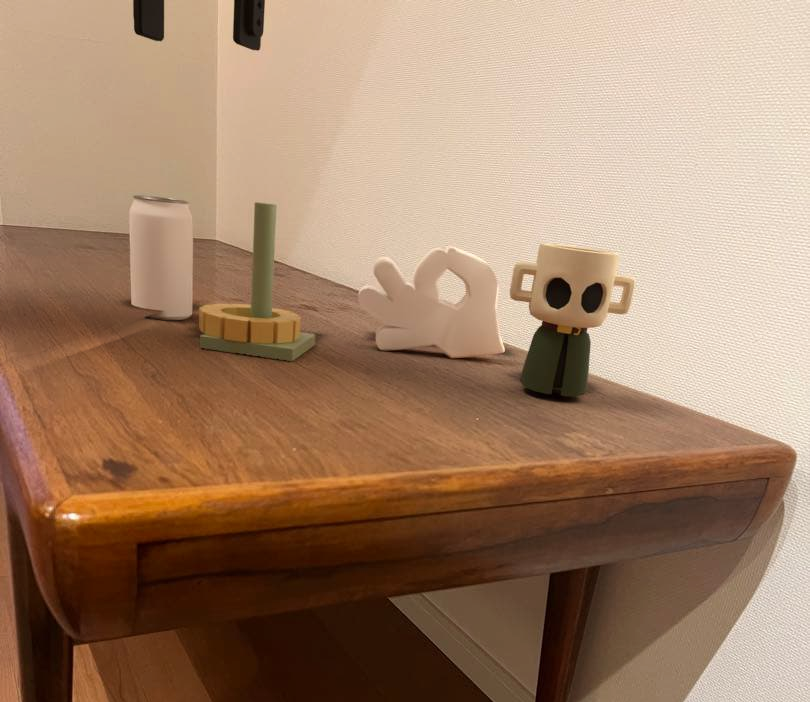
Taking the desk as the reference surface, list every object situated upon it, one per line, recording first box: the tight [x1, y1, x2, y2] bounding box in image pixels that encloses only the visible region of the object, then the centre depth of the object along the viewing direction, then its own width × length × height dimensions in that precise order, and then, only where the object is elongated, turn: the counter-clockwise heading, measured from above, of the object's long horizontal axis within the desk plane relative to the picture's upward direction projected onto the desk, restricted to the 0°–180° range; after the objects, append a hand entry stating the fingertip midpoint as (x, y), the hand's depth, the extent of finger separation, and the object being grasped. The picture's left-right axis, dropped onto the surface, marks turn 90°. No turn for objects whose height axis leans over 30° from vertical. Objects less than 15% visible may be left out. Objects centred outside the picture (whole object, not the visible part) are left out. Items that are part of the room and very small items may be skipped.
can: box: [128, 194, 194, 321], centre depth 84 cm, size 6×6×12 cm
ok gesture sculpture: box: [357, 245, 506, 359], centre depth 82 cm, size 3×15×11 cm, turn 92°
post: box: [199, 201, 316, 362], centre depth 75 cm, size 9×9×13 cm
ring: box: [198, 303, 302, 344], centre depth 77 cm, size 10×10×2 cm
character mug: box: [509, 242, 636, 397], centre depth 71 cm, size 11×7×13 cm, turn 85°
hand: (197, 42), depth 65 cm, fingers open, 9 cm apart
